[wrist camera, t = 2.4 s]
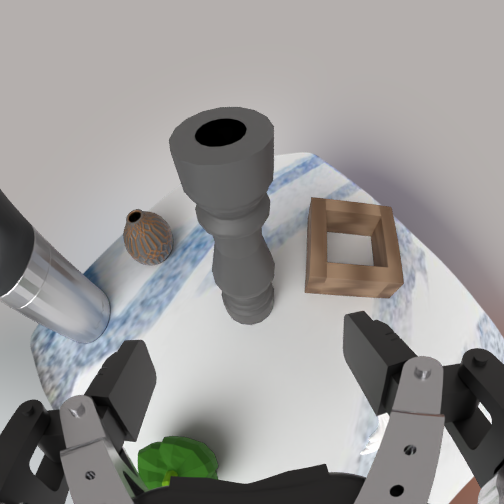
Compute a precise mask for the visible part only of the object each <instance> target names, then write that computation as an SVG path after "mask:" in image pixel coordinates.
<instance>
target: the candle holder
mask: <svg viewBox="0 0 504 504" xmlns="http://www.w3.org/2000/svg"><path fill="white" fill-rule="evenodd" d="M169 144H170V151H171V155H172V158H173V161H174V164H175V167H176V169H177V172H178V175H179V178H180V181H181V184H182V187H183V190H184V192H185V193H186V194H187V195H188V196H189V197H190V198H191V200H192V201H193V202H195V203H196V204H197V205H196V209H195V210H196V214H197V219H198V222H199V224H200V225H201V226H202V227H203V228H204V229H205V230H206V231H207V233H209V234H211V235H213V238H214V241H215V244H214V255H213V265H212V272H213V276H214V280H215V283H216V284H217V285H218V287H219V288H220V289H221V290H222V298H223V302H224V305H225V307H226V310H227V312H228V313H229V315H230V316H231V317H232V318H233V319H234V320H235V321H237V322H239V323H241V324H249V325H252V324H256V323H259V322H261V321H263V320H264V319H265V318H266V317H268V316H269V314H270V312H271V310H272V308H273V297H274V288H273V286H272V283H271V281H272V280H273V278H274V267H275V263H274V261H273V258H272V255H271V253H270V251H269V249H268V247H267V245H266V243H265V240H264V238H263V236H262V229H261V227H262V226H263V224H264V223H265V221H266V219H267V218H268V216H269V210H270V199H269V197H268V195H267V193H266V192H267V190H268V187H269V186H270V184H271V183H272V181H273V171H274V126H273V125H272V123H271V122H270V120H269V119H268V118H267V117H266V116H265V115H263V114H261V113H259V112H257V111H255V110H251V109H246V108H241V107H220V108H216V109H212V110H207V111H203V112H200V113H198V114H196V115H194V116H192V117H190V118H188V119H186V120H185V121H184V122H182V123H181V124H180V125H179V126H178V127H176V128H175V130H174V131H173V134H172V135H171V137H170V139H169Z"/></svg>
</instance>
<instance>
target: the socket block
mask: <svg viewBox="0 0 504 504" xmlns="http://www.w3.org/2000/svg"><path fill="white" fill-rule="evenodd" d="M327 232H335V233H345V234H355V235H364V236H371V241H372V250H373V261H374V266H364V265H352V264H341V263H329V262H327ZM403 284H404V281H403V272H402V265H401V257H400V251H399V245H398V239H397V233H396V228H395V222H394V217H393V213H392V208H391V207H387V206H380V205H373V204H366V203H358V202H350V201H341V200H332V199H323V198H313V197H311V203H310V209H309V215H308V229H307V259H306V280H305V293H315V294H328V295H342V296H357V297H373V298H390V297H391V296H392V295H393V294H394V293H395V292H396V291H397V290H398V289H399V288H400V287H401V286H402V285H403Z"/></svg>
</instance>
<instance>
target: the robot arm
mask: <svg viewBox="0 0 504 504" xmlns="http://www.w3.org/2000/svg"><path fill="white" fill-rule="evenodd" d="M0 301H1V302H3V303H4V304H6V305H7V306H9V307H10V308H12V309H14V310H16V311H17V312H19V313H21V314H23V315H24V316H26V317H28V318H30V319H32V320H34V321H36V322H37V323H39V324H41V325H43V326H45V327H47V328H49V329H51V330H53V331H55V332H57V333H59V334H61V335H63V336H65V337H67V338H69V339H71V340H73V341H76V342H78V343H83V344H85V343H90V342H92V341H94V340H96V339H97V338H98V337H99V336H100V335H101V334H102V333H103V331H104V330H105V328H106V326H107V323H108V321H109V316H110V306H109V301H108V298H107V296H106V295H105V293H104V292H103V291H102V290H101V289H99V288H98V287H97V286H96V285H95V284H93V283H92V282H91V281H90V280H89V279H88V278H87V277H85V276H84V275H83V274H82V273H81V272H80V271H79V270H77V269H76V268H75V267H74V266H73V265H72V264H71V263H69V261H67V260H66V259H65V258H64V257H63V256H62V255H61V254H60V253H59V252H58V251H57V250H56V249H55V248H54V247H53V246H52V245H51V244H50V243H49V242H48V241H46V240H45V239H44V238H43V237H42V235H41V234H40V233H39V232H38V231H37V230H36V229H35V228H34V227H33V226H32V225H31V224H30V223H29V222H28V221H27V220H26V219H25V218H24V217H23V216H22V214H21V213H20V212H19V211H18V210H17V209H16V208H15V207H14V205H13V204H12V203H11V202H10V201H9V200H8V198H7V197H6V196H5V195H4V193H3V192H2V191H1V190H0ZM343 353H344V357H345V360H346V362H347V364H348V366H349V368H350V369H351V371H352V373H353V375H354V376H355V378H356V380H357V382H358V384H359V385H360V387H361V389H362V391H363V392H364V394H365V396H366V398H367V400H368V401H369V403H370V405H371V407H372V409H373V411H374V412H375V414H376V416H379V415H382V414H385V413H388V415H389V417H390V418H389V421H388V424H387V427H386V430H385V433H384V436H383V438H382V441H381V444H380V447H379V449H378V452H377V454H376V457H375V459H374V462H373V464H372V466H371V469H370V471H369V473H368V476H367V478H366V477H363V476H359V475H355V474H349V473H339V472H328V469H327V466H326V464H322V465H318V466H313V467H308V468H303V469H298V470H292V471H287V472H284V473H281V474H278V475H275V476H272V477H269V478H266V479H263V480H260V481H256V482H253V483H249V484H242V483H235V482H229V481H223V480H217V479H212V478H207V477H178V476H171V477H170V483H169V485H168V486H162V487H158V488H155V489H152V490H149V489H148V488H147V486H146V485H145V484H144V482H143V480H142V479H141V477H140V475H139V474H138V472H137V470H136V468H135V467H134V465H133V463H132V461H131V459H130V458H129V456H128V454H127V452H126V450H125V448H124V447H123V443H124V441H132V442H136V441H137V437H138V434H139V431H140V428H141V425H142V422H143V419H144V416H145V413H146V411H147V408H148V405H149V402H150V399H151V396H152V393H153V390H154V388H155V385H156V372H155V369H154V366H153V363H152V361H151V358H150V355H149V353H148V350H147V347H146V344H145V342H144V341H143V340H126V341H124V342H123V344H122V345H121V347H120V348H119V350H118V351H117V352H115V353H114V354H112V355H111V356H110V357H109V358H107V359H106V361H105V362H104V364H103V365H102V368H101V369H100V370H99V372H98V375H96V376H95V378H94V379H93V381H92V383H91V384H90V386H89V387H88V389H87V391H86V392H85V394H84V395H78V396H74V397H71V398H69V399H68V400H66V401H65V402H64V403H63V404H62V406H61V408H60V410H50V411H47V410H46V409H45V408H44V406H43V405H42V403H41V402H40V401H38V400H29V401H26V402H24V403H22V404H21V405H20V406H19V407H18V409H17V410H16V412H15V413H14V415H13V416H12V417H11V419H10V420H9V422H8V423H7V425H6V427H5V428H4V430H3V431H2V433H1V435H0V504H65V501H66V497H67V494H68V491H69V490H70V493H71V497H72V499H73V502H74V504H428V503H427V502H428V499H429V495H430V492H431V488H432V485H433V481H434V477H435V473H436V468H437V464H438V459H439V454H440V448H441V442H442V436H443V429H444V426H445V427H446V429H447V431H448V432H449V434H450V435H451V437H452V439H453V440H454V442H455V444H456V445H457V447H458V449H459V450H460V452H461V454H462V455H463V457H464V459H465V461H466V462H467V464H468V466H469V467H470V469H471V471H472V473H473V475H474V476H475V478H476V480H477V482H478V484H479V486H480V487H481V491H480V493H479V497H478V504H504V364H503V363H502V362H501V361H500V360H498V359H497V358H496V357H495V356H494V355H493V354H492V353H491V352H489V351H487V350H484V349H479V348H476V349H471V350H468V351H467V352H465V354H464V355H463V358H462V361H461V363H460V364H455V365H448V366H442V365H441V364H440V363H439V362H438V361H437V360H435V359H433V358H431V357H426V356H419V357H418V356H417V355H416V354H415V353H414V352H413V351H412V350H411V349H410V348H409V347H408V346H407V345H406V344H405V342H404V341H403V340H402V339H400V338H399V336H398V335H397V334H396V333H394V331H393V330H392V329H391V328H390V327H389V326H388V325H387V324H385V323H383V322H381V321H379V320H374V321H373V320H372V319H371V318H370V317H369V316H368V315H367V314H366V312H364V311H360V312H355V313H351V314H346V315H345V317H344V335H343ZM480 402H481V403H482V405H483V406H484V407H485V408H486V410H487V411H488V412H489V413H490V415H491V418H492V425H491V423H490V422H489V421H488V419H487V418H486V417H485V415H484V414H483V413H482V411H481V410H480V409H479V408H478V405H479V403H480ZM37 446H38V447H39V448H40V449H41V450H42V451H43V452H44V453H45V455H44V457H43V459H42V461H41V464H40V466H39V468H38V471H37V473H36V475H34V474H33V473H32V472H31V470H30V467H29V462H30V459H31V457H32V455H33V453H34V451H35V449H36V447H37Z"/></svg>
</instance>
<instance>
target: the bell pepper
mask: <svg viewBox="0 0 504 504" xmlns="http://www.w3.org/2000/svg"><path fill="white" fill-rule="evenodd" d="M217 468H218V463H217V460H216V457H215V454H214V453H213V452H212V451H211V450H210V449H209V448H208V447H207V446H206V445H205V444H204V443H202V442H199V441H196V440H193V439H190V438H187V437H178V436H168V437H164V439H163V441H162V442H155V443H152V444H150V445H148V446H146V447H145V448H143V449H141V450H139V452H138V472H139V475H140V477H141V479H142V480H143V482H144V484H145V485H146V486H147V488H148V489H149V490H152V489H155V488H158V487H162V486H168V485H169V483H170V477H171V476H178V477H207V478H212V479H217V480H218V476H217V473H216V471H215V470H216V469H217Z"/></svg>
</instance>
